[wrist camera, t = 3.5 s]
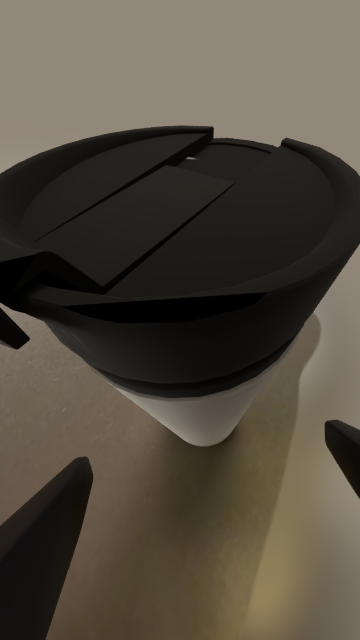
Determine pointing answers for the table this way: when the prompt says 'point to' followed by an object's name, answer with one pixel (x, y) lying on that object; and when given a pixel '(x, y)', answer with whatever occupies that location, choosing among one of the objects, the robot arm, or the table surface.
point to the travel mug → (176, 261)
